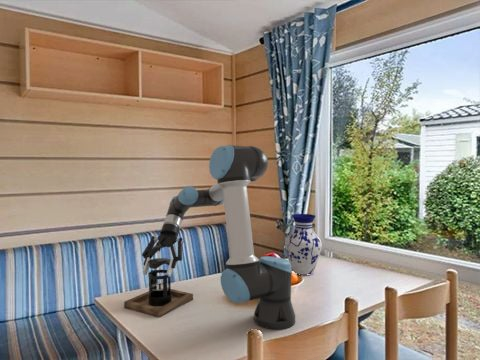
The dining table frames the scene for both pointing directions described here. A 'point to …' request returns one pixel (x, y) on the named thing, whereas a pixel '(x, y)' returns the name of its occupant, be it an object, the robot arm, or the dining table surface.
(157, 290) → the french press
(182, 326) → the dining table surface
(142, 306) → the walnut tray
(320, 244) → the vase
